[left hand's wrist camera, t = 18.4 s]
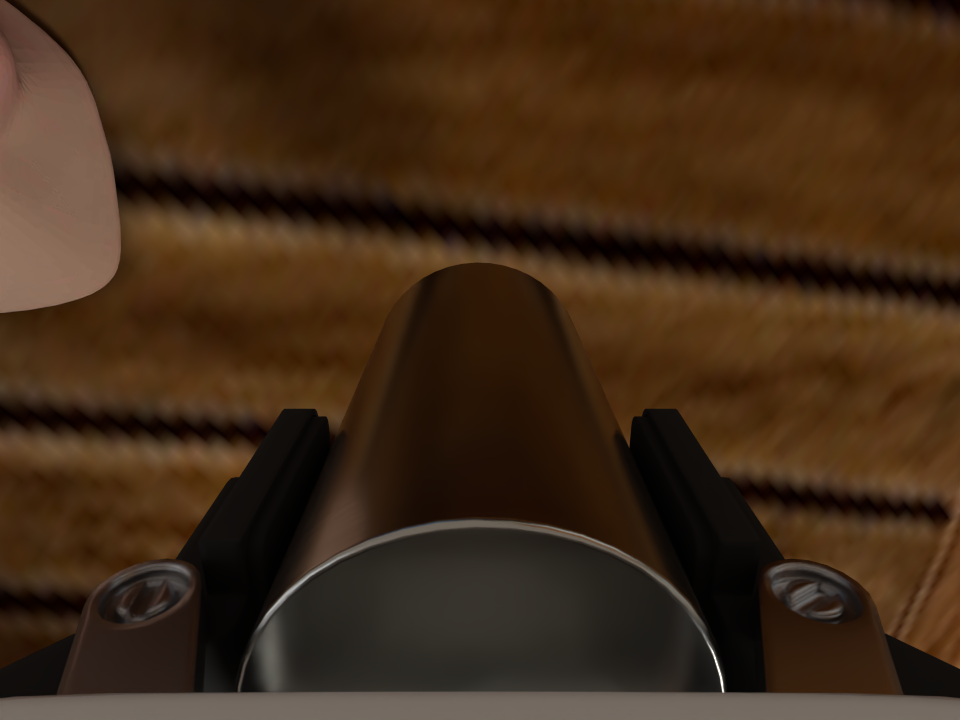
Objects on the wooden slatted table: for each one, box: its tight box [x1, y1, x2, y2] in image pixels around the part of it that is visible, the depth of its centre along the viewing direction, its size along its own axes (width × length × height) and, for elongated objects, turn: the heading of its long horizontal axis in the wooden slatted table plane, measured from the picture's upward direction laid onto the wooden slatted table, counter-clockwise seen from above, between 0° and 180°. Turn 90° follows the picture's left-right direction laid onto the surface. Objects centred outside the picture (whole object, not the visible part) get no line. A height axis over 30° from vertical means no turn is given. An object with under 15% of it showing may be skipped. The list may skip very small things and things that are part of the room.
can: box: [235, 263, 728, 692], centre depth 12 cm, size 5×5×11 cm
